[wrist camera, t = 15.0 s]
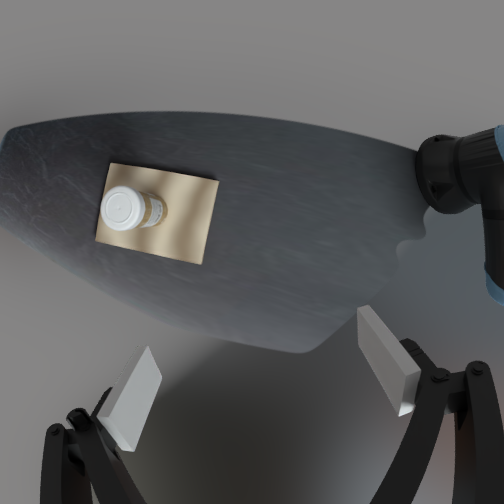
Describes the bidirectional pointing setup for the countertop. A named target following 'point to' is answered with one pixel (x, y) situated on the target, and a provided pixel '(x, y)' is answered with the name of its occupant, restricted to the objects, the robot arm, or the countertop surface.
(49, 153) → the countertop surface
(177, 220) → the birch board
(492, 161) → the robot arm
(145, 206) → the sprinkles bottle
